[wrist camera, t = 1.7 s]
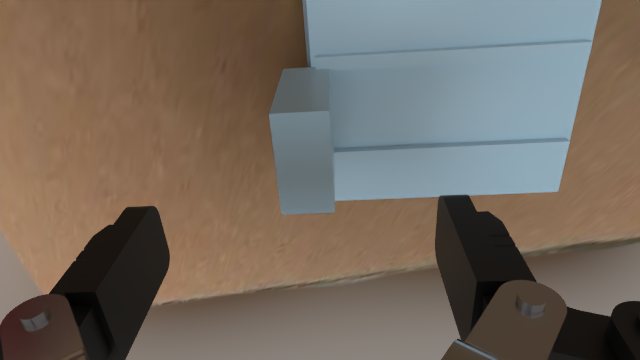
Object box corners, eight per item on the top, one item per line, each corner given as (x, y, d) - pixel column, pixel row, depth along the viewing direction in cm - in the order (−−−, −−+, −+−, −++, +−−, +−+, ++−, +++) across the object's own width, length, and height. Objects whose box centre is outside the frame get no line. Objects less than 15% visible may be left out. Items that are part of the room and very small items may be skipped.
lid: (278, -4, 19) (257, 26, 14) (596, -25, 18) (701, -1, 13) (297, 194, 24) (288, 272, 18) (551, 183, 23) (615, 260, 18)
